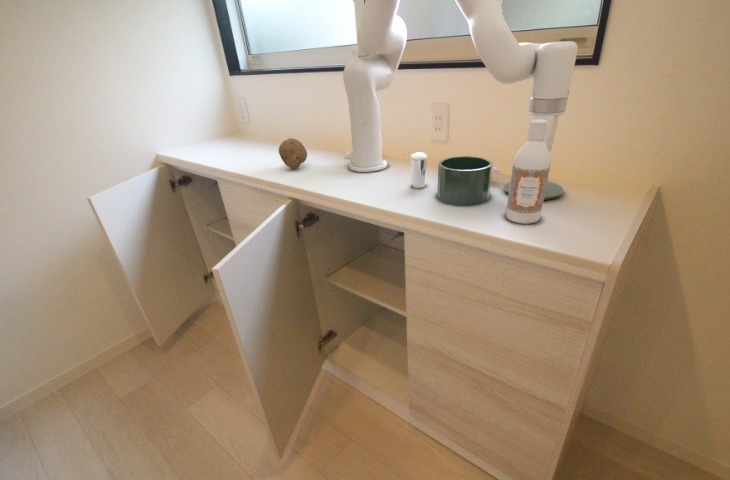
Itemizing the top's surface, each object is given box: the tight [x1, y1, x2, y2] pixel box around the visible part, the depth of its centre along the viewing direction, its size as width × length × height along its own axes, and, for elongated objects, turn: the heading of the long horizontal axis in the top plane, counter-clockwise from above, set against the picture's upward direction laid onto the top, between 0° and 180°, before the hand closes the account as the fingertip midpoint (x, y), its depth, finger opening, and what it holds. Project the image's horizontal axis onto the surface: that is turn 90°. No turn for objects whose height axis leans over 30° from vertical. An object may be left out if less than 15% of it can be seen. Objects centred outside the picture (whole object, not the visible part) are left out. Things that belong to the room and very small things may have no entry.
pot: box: [436, 155, 493, 207], centre depth 90 cm, size 13×13×8 cm
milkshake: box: [407, 151, 428, 189], centre depth 98 cm, size 4×5×10 cm
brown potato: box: [278, 137, 308, 171], centre depth 121 cm, size 9×9×10 cm
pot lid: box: [503, 180, 564, 200], centre depth 90 cm, size 14×14×7 cm
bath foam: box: [505, 119, 552, 225], centre depth 74 cm, size 7×7×20 cm
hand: (533, 184), depth 90 cm, fingers open, 4 cm apart
